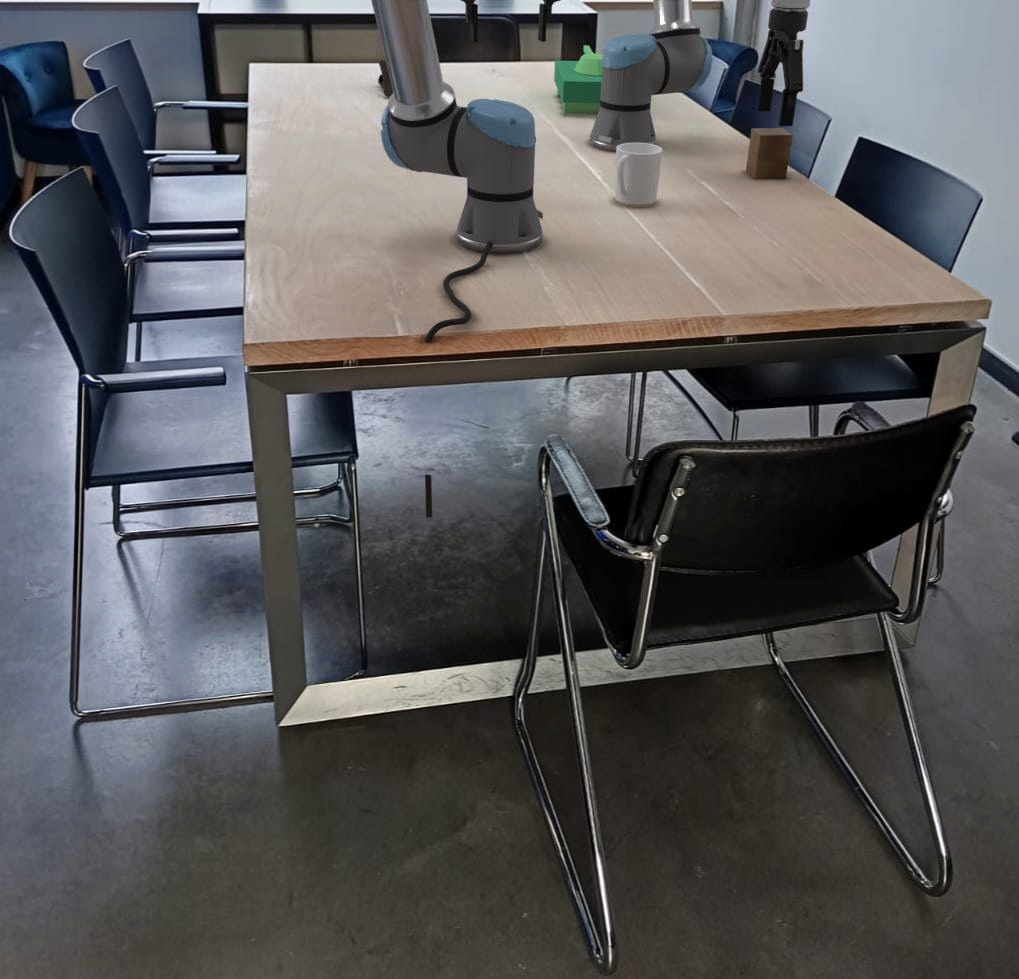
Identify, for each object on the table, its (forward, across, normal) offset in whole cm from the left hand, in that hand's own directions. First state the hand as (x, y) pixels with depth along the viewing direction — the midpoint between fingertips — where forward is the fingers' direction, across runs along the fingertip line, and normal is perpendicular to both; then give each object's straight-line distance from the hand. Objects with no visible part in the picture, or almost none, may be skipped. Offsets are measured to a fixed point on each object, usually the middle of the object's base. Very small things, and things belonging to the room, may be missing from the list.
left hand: (508, 41), depth 211 cm
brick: (+27, -58, +3) cm, 64 cm away
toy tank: (+26, -42, -71) cm, 87 cm away
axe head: (+26, +4, -93) cm, 97 cm away
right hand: (+15, -58, +3) cm, 60 cm away
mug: (+28, -22, +16) cm, 39 cm away
